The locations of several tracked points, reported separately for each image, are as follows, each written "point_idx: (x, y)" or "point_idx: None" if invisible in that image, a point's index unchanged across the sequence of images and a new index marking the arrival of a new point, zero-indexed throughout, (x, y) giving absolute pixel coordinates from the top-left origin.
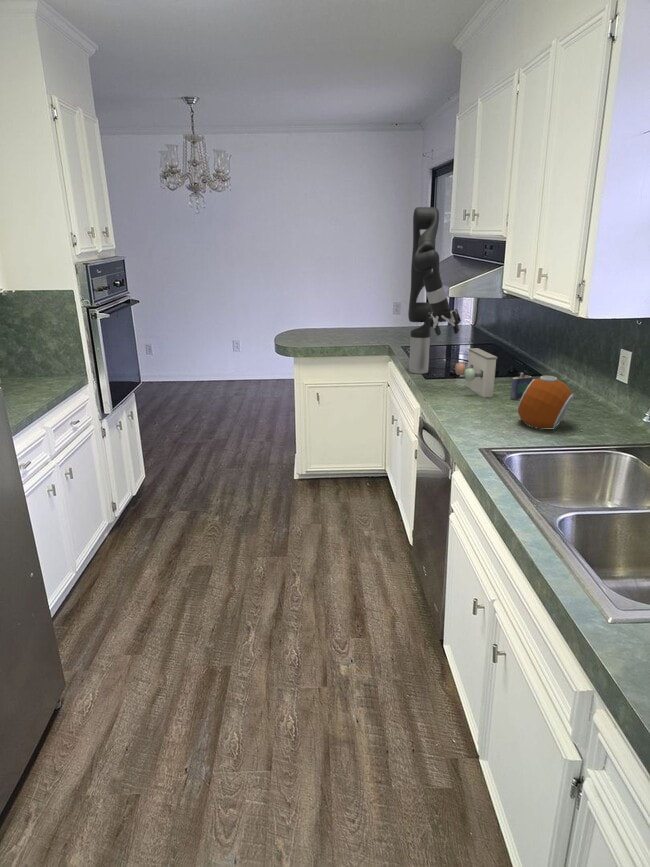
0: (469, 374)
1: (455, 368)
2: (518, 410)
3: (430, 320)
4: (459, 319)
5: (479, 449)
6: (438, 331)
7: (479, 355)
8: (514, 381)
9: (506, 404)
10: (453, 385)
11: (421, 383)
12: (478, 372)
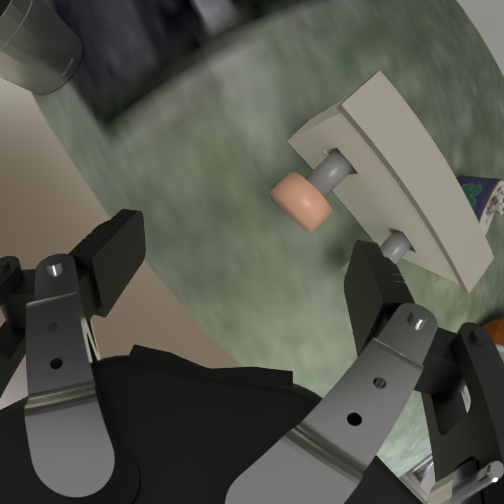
0: None
1: (273, 195)
2: (465, 393)
3: (2, 382)
4: (486, 366)
5: (400, 478)
6: (127, 266)
7: (431, 232)
8: None
9: (435, 277)
10: (239, 155)
11: (122, 201)
12: (399, 259)
